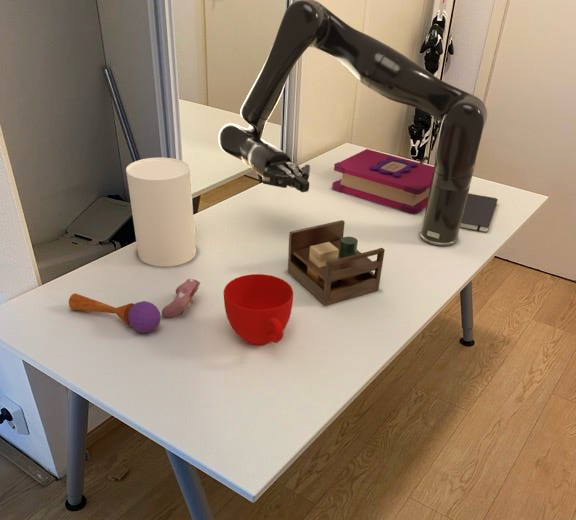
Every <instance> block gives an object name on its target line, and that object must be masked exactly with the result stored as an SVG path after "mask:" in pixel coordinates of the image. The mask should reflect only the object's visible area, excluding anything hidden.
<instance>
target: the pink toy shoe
mask: <svg viewBox="0 0 576 520" xmlns="http://www.w3.org/2000/svg"><path fill="white" fill-rule="evenodd" d="M200 284H201V282H200V281H199V280H197V279H194V278H192V277H189V278H188V279H186V280H185V281H184V282H183V283H181V284H180V285H178V286H177V287H176V289H175V294H176V295H175V297H174V299H173V300H172V301H171V302H170V303H169V304H167V305H165V306H164V307H163V308H162V309H161V316H162V317H163V318H167V319H168V318H169V319H170V318H171V319H172V318H174V317H176V316H178V315H179V314H183V313H184V312H185V310H186V309H190V308H191V306H192V302H193V297H194V295H195V294H196V293H197V291H198V290H199V288H200Z"/></svg>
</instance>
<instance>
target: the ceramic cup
mask: <svg viewBox="0 0 576 520" xmlns="http://www.w3.org/2000/svg"><path fill="white" fill-rule="evenodd" d="M293 302H294V290H293V286H291V284H290V283H289V282H288V281H286V280H284V279H282V278H280V277H278V276H275V275H270V274H263V273H251V274H246V275H241V276H238V277H236V278H233V279H232V280H230V281H229V282H228V283H227V284H226V285H225V286H224V289H223V303H224V310H225V314H226V315H225V316H226V318H227V321H228V323H229V325H230V327H231V329H232V331H233V332H234V333H235V334H236V335H237V336H238V337H239V338H240V339H242V340H243V341H244V342H245V343H247V344H249V345H252V346H265V345H269V344H270V343H278V342H280V341H282V339H283V337H284V330H285V329H286V327H287V325H288V323H289V321H290V319H291V315H292V309H293V304H294V303H293Z"/></svg>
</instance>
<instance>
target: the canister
mask: <svg viewBox="0 0 576 520" xmlns="http://www.w3.org/2000/svg"><path fill="white" fill-rule="evenodd" d="M125 173H126V179H127V180H126V181H127V187H128V194H129V199H130V201H129V202H130V206H131V207H130V208H131V214H132V221H133V229H134V235H135V242H136V250H137V256H138V258H139V260H140V261H141V262H143V263H145V264H147V265H150V266H155V267H176V266H180V265H183V264H185V263H188V262H190V261H191V260H192V259H194V257H195V256H196V253H197V249H196V248H197V247H196V246H197V245H196V234H195V220H194V206H193V194H192V193H193V192H192V179H191V166H190V165H189V163H187V161H184V160H181V159H177V158H172V157H147V158H142V159H138V160H135V161H132V162H131V163H129V164H128V165H127V166H126V168H125Z"/></svg>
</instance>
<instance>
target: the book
mask: <svg viewBox="0 0 576 520" xmlns="http://www.w3.org/2000/svg"><path fill="white" fill-rule="evenodd" d="M433 170H434V165H429V164H425V163H420V162H417V161H414V160H410V159H406V158H403V157H399V156H395V155H391V154H387V153H384V152H381V151H376V150H372V149H369V148H366V149H364V150H361V151H360V152H358V153H356V154H353V155H351V156H349V157H347V158H345V159H343V160H341V161H338V162H336V163H334V166H333V171H335V172H338V173H341V174H342V178H340V179H339V180H335V181H333V182H332V184H331V185H332V186H331V189H332V191H336V192H339V193H345V194H348V195H351V196H354V197H357V198H361V199H364V200H367V201H370V202H374V203H377V204H381V205H382V206H383V205H384V206H387V207H390V208H393V209H396V210H400V212H404V213H408V214H411V215H417V214H419V213H420V212H421V211H423V209H426V206H427V201H428V196H429V191H430V186H431V180H432V175H433Z"/></svg>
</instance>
